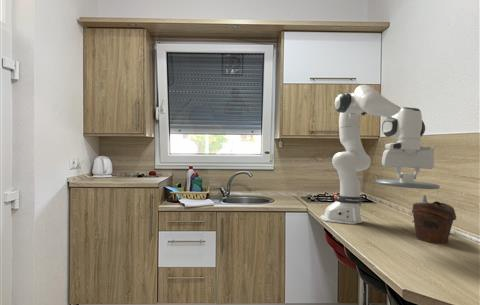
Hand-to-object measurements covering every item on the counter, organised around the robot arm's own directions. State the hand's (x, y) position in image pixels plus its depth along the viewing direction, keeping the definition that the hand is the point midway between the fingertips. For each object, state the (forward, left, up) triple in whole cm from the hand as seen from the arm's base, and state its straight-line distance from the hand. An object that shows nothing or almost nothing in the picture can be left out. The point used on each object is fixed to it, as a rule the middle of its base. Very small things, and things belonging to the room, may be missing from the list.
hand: (406, 178), depth 139 cm
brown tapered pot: (+20, +16, -29) cm, 39 cm away
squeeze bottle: (+25, +37, -29) cm, 54 cm away
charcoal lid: (0, 0, -3) cm, 3 cm away
